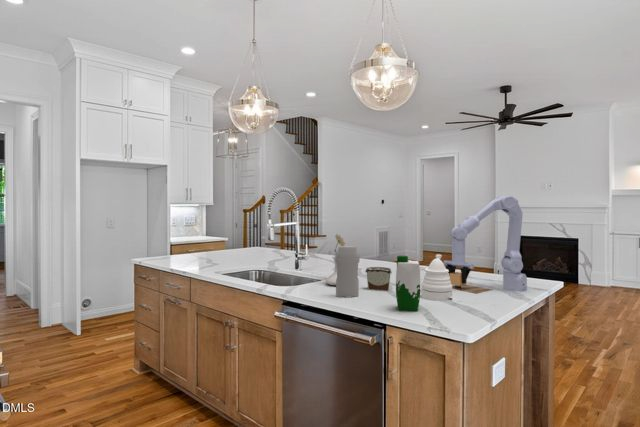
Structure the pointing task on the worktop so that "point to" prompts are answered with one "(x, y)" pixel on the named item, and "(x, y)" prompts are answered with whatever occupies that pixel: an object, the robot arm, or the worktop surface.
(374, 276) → the food container
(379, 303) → the worktop surface
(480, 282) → the worktop surface
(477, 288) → the board
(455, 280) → the tan shipping carton
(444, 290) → the honey pot
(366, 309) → the worktop surface
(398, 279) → the milk carton
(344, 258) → the tall pale column
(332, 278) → the flower in vase
